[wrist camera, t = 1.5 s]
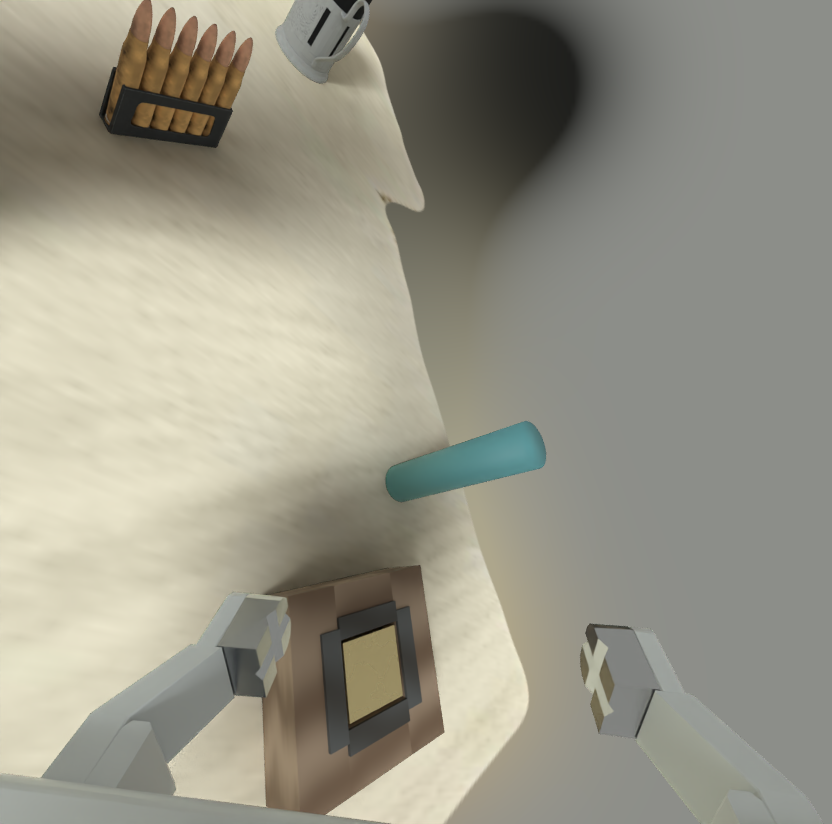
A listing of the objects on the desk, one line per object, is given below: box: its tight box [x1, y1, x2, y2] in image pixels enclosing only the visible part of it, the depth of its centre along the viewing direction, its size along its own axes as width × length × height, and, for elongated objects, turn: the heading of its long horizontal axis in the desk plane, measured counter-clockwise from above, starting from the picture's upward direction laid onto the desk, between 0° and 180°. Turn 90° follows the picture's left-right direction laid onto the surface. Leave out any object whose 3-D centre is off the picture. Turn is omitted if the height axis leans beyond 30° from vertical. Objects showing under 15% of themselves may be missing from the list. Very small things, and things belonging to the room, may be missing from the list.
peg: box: [386, 421, 546, 502], centre depth 42 cm, size 4×4×18 cm
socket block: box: [262, 565, 444, 815], centre depth 34 cm, size 14×14×5 cm
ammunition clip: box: [99, 0, 253, 148], centre depth 37 cm, size 11×2×12 cm, turn 131°
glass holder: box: [275, 0, 372, 83], centre depth 56 cm, size 9×14×15 cm, turn 17°
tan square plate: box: [341, 625, 403, 724], centre depth 33 cm, size 5×5×1 cm
